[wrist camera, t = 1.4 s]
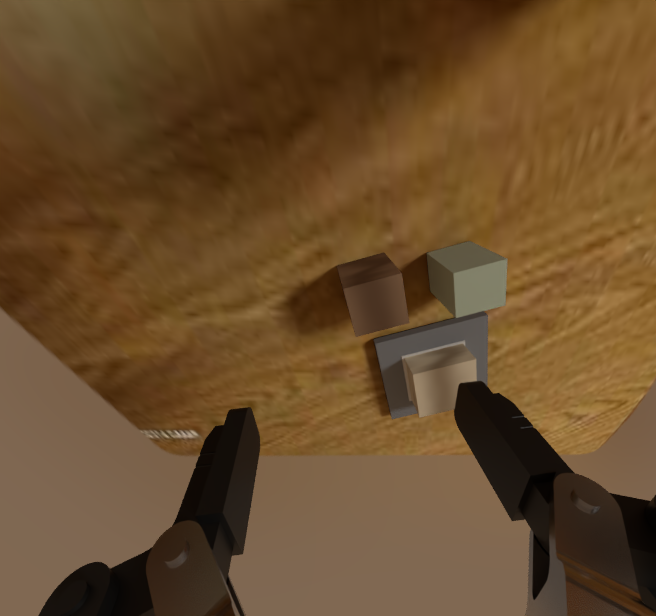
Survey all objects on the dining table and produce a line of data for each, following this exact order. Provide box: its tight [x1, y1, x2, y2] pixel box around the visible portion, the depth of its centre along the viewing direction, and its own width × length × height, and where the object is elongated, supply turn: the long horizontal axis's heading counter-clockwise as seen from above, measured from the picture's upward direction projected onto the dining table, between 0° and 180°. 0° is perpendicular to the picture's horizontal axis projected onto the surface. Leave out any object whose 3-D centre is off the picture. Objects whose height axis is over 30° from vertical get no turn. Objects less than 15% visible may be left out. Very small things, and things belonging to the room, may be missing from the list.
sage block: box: [426, 241, 507, 318], centre depth 27 cm, size 4×4×6 cm
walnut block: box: [337, 253, 409, 337], centre depth 27 cm, size 5×5×6 cm
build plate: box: [374, 311, 488, 419], centre depth 35 cm, size 13×13×1 cm
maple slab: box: [405, 343, 477, 417], centre depth 33 cm, size 7×7×3 cm
